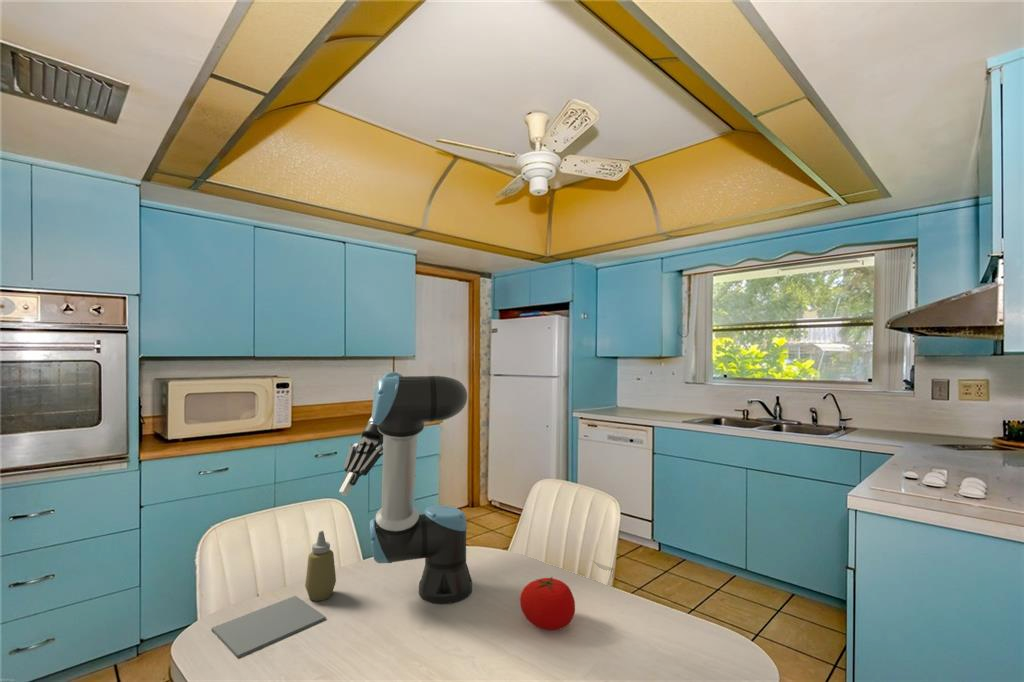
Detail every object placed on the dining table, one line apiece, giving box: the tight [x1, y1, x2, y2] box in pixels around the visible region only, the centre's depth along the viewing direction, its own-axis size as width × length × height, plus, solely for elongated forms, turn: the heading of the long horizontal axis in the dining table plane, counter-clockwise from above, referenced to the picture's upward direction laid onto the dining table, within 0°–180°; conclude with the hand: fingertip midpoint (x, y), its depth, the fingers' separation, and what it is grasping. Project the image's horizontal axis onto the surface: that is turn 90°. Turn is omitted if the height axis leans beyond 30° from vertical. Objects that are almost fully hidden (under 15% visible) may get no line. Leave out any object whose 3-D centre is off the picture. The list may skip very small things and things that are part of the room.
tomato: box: [519, 576, 576, 631], centre depth 125 cm, size 14×13×10 cm
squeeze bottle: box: [304, 530, 337, 602], centre depth 139 cm, size 8×8×18 cm
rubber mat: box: [211, 595, 327, 659], centre depth 125 cm, size 16×21×1 cm
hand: (343, 493), depth 147 cm, fingers closed
